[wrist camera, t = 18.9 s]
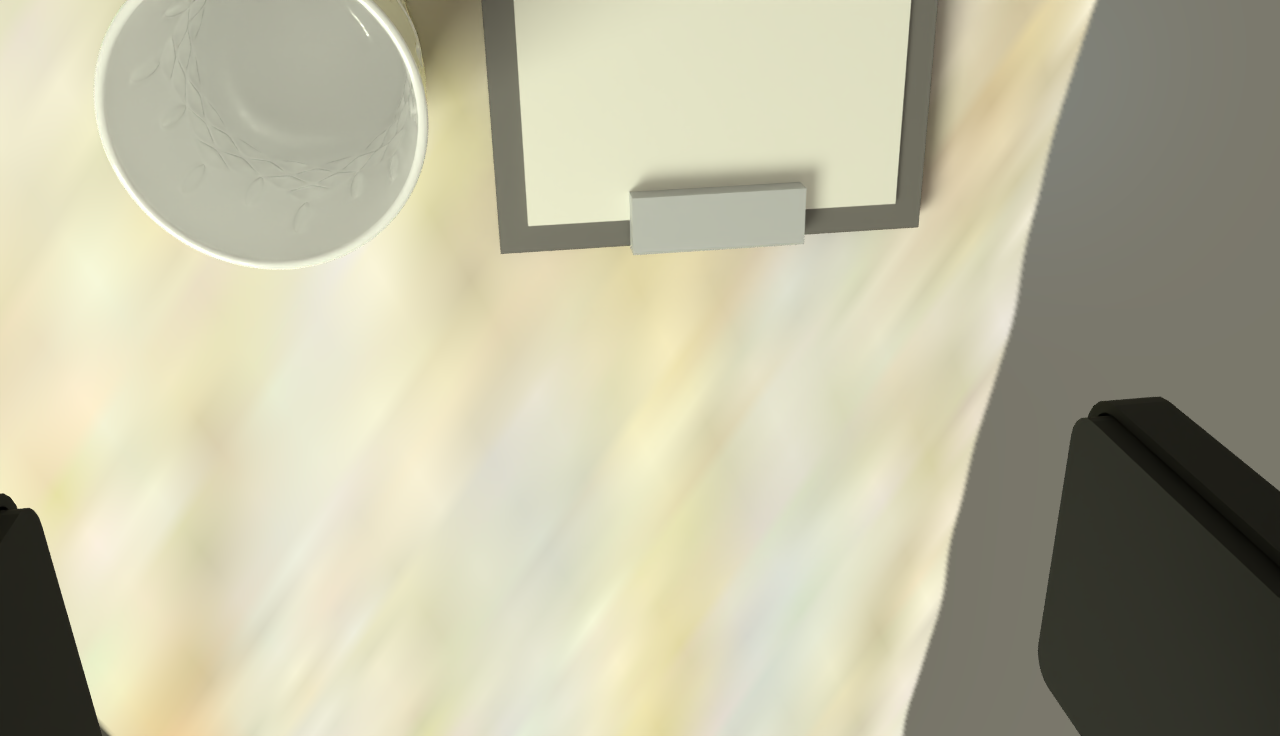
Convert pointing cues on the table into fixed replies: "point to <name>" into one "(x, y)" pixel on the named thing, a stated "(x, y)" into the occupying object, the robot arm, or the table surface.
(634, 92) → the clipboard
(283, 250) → the white cup
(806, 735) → the table surface
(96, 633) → the table surface
